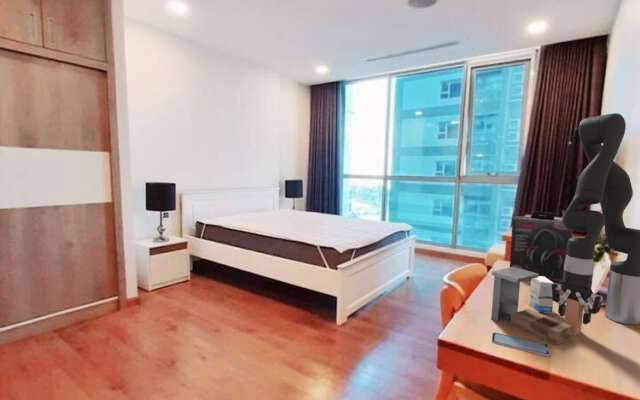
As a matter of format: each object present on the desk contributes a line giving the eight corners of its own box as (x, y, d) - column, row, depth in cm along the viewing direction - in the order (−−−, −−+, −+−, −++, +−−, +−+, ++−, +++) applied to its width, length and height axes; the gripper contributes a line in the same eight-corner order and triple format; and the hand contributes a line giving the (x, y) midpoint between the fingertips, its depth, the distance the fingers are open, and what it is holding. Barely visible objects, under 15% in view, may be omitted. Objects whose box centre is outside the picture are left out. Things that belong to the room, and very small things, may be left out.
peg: (568, 327, 113) (571, 296, 112) (580, 332, 110) (584, 300, 108) (563, 330, 111) (566, 298, 110) (575, 334, 108) (579, 302, 107)
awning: (509, 311, 125) (513, 266, 123) (534, 321, 117) (538, 273, 115) (488, 318, 118) (491, 271, 117) (513, 329, 111) (517, 279, 109)
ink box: (552, 313, 123) (555, 283, 122) (537, 312, 124) (540, 282, 123) (542, 304, 132) (544, 275, 131) (528, 303, 133) (530, 274, 132)
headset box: (507, 275, 168) (512, 210, 165) (510, 269, 178) (515, 208, 175) (568, 286, 153) (575, 215, 150) (567, 279, 163) (574, 213, 160)
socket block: (526, 319, 118) (527, 308, 118) (571, 337, 106) (572, 325, 106) (510, 325, 113) (511, 314, 113) (555, 345, 101) (556, 332, 101)
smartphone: (492, 331, 108) (547, 344, 101) (492, 334, 108) (547, 346, 101) (491, 341, 102) (550, 355, 94) (491, 344, 102) (550, 358, 94)
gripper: (610, 274, 104) (605, 326, 105) (559, 263, 116) (555, 309, 118) (600, 278, 100) (594, 331, 102) (548, 265, 113) (543, 313, 114)
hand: (573, 319), depth 110 cm, fingers open, 6 cm apart
